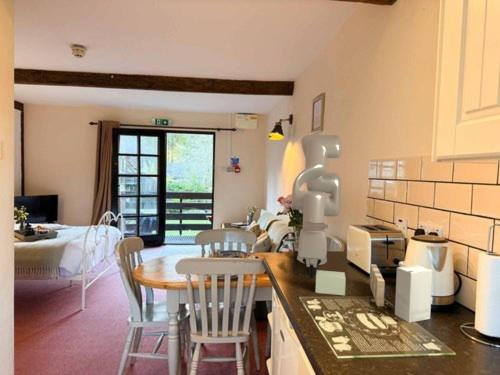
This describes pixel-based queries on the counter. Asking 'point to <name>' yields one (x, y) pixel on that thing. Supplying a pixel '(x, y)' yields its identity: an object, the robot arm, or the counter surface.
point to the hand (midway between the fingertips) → (311, 277)
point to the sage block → (330, 282)
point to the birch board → (377, 285)
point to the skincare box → (413, 293)
